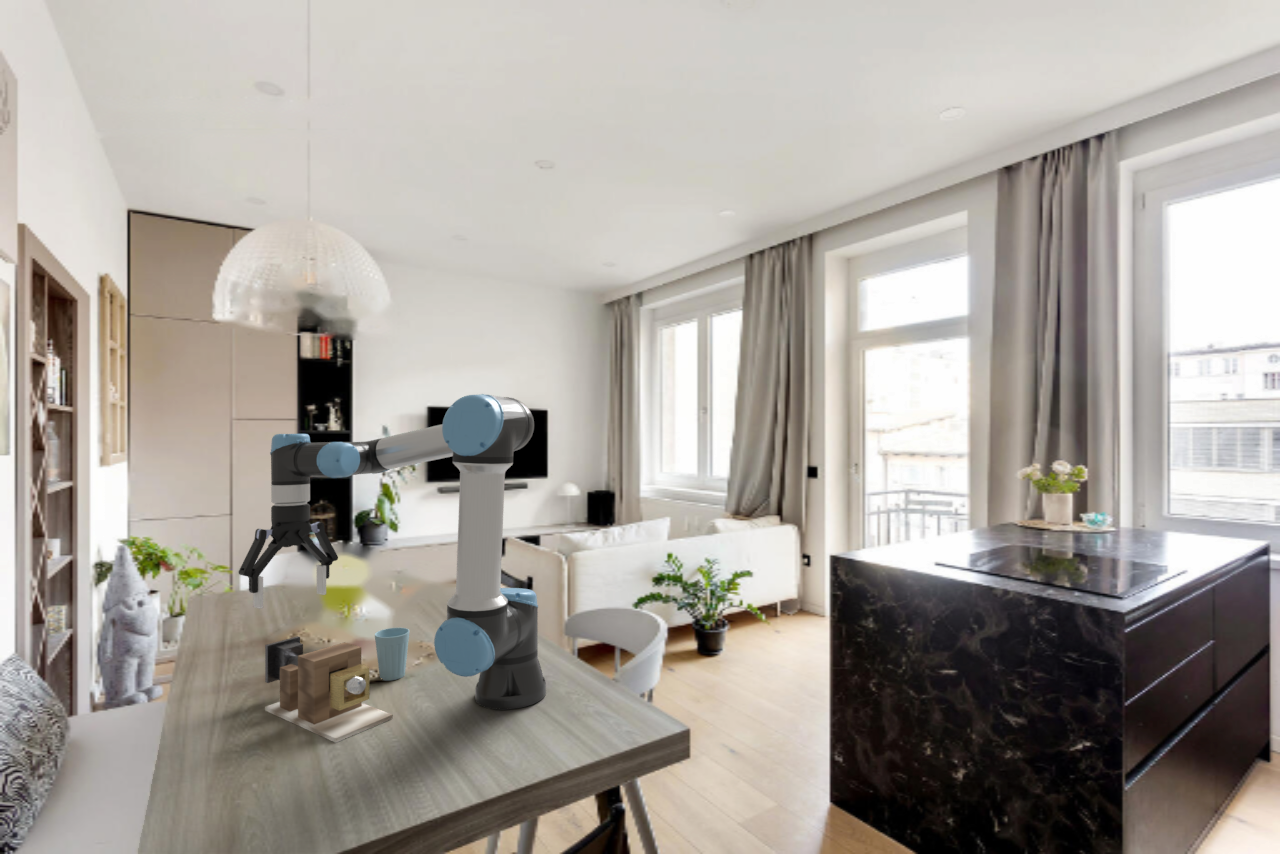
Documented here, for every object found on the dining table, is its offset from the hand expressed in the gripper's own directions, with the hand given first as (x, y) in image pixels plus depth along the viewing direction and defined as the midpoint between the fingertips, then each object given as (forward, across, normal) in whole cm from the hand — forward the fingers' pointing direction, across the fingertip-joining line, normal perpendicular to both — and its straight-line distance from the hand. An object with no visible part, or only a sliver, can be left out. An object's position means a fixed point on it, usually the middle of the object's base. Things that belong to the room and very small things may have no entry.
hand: (291, 600), depth 141 cm
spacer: (+14, 0, +24) cm, 27 cm away
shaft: (+17, +1, +12) cm, 21 cm away
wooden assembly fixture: (+21, 0, +17) cm, 27 cm away
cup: (+21, -19, +8) cm, 30 cm away
